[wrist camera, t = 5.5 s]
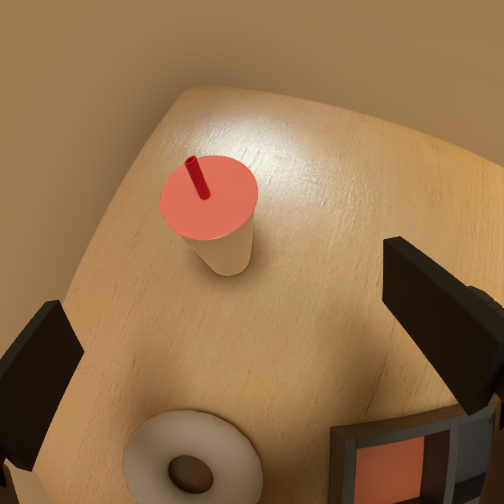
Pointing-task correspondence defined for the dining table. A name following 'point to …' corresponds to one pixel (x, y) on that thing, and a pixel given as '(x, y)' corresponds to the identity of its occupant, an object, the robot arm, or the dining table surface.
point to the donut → (197, 445)
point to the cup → (213, 210)
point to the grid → (412, 458)
